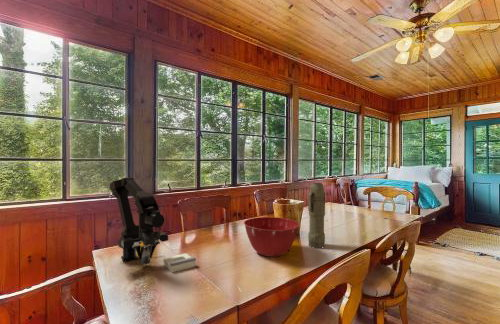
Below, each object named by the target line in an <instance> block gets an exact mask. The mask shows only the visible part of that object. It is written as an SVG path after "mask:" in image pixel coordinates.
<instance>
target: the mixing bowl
mask: <svg viewBox="0 0 500 324" xmlns="http://www.w3.org/2000/svg"><path fill="white" fill-rule="evenodd" d="M243 224H244V228H245V231H246V234H247V238H248V240H249V243H250V245H251V247H252V249H254V251H255V252H256V253H258V254H259V255H261V256H264V257H269V256H270V257H272V258H274V257H280V256H283V255H284V254H286V253H288V251H289V250H290V249H291V247H292V245H293V243H294V241H295V240H296V236H297V234H298V229H299V227H300V223H299V222H298V221H296V220H293V219H290V218H286V217H285V218H284V217H275V216H273V217H271V216H261V217H253V218H248V219H245V220H244V221H243Z"/></svg>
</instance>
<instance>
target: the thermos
mask: <svg viewBox="0 0 500 324" xmlns="http://www.w3.org/2000/svg"><path fill="white" fill-rule="evenodd" d="M325 192H326V191H325V187H324V184H323V183H321V182H312V183H311V184H310V187H309V192H308V201H307V204H308V205H307V210H308V215H309V231H308V239H307V240H308V247H310V246H311V247H310V248H312V247H314V248H313V249H323V248H322V247H324V248H325V243H326V234H325V215H326V193H325Z"/></svg>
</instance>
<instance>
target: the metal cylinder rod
mask: <svg viewBox="0 0 500 324" xmlns="http://www.w3.org/2000/svg"><path fill="white" fill-rule="evenodd" d="M140 246H141V248H140V250H141V260H140V264H141V265H147V264H150V263H151V258H150V245H147V246H145V245H140Z"/></svg>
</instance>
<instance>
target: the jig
mask: <svg viewBox="0 0 500 324" xmlns="http://www.w3.org/2000/svg"><path fill="white" fill-rule="evenodd" d="M162 262H163V265H164V266H165V267H166V268H167V269H168V270H169V271H170V273H175V272H179V271H181V270H186V269H190V268H194V267H196V266H197V265H196V264H197V259H196V257H195V256H190V254H188V253H187V252H186V253H181V254H177V255H172V256H167V257H164V258H163V261H162Z"/></svg>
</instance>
